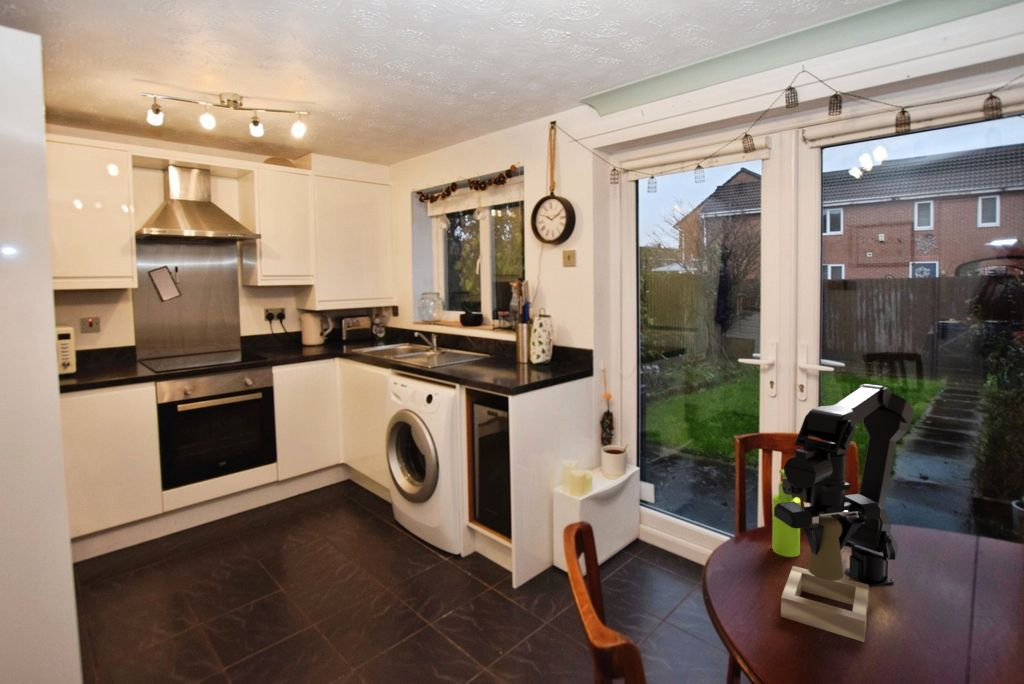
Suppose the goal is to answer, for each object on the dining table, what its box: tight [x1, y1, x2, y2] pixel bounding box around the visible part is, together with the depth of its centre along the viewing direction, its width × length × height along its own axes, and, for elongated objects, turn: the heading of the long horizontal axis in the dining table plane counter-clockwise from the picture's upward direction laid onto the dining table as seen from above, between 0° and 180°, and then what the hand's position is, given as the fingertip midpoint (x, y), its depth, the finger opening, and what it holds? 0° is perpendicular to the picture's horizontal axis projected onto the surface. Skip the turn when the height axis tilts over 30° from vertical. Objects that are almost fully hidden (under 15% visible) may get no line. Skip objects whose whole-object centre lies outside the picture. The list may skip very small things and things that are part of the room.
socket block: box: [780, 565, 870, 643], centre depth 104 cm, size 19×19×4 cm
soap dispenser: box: [771, 468, 802, 558], centre depth 126 cm, size 6×7×20 cm
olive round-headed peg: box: [807, 515, 844, 581], centre depth 103 cm, size 6×6×11 cm
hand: (825, 552), depth 103 cm, fingers closed on olive round-headed peg, 4 cm apart
